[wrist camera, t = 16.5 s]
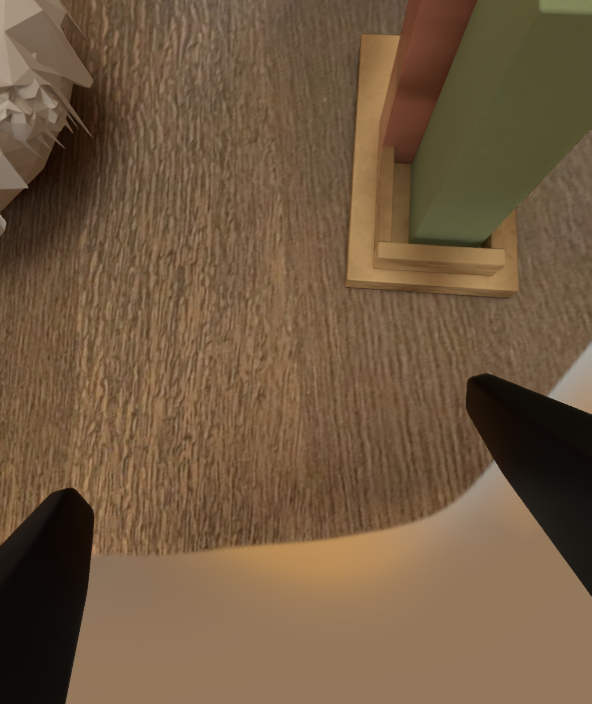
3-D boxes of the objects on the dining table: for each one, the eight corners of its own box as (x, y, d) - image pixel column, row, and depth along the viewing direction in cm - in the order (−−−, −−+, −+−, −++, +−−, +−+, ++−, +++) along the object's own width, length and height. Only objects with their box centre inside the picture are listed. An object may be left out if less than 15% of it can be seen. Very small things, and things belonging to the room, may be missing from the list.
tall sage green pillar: (475, 169, 23) (675, -138, 11) (476, 250, 22) (699, 15, 10) (410, 165, 24) (532, -141, 11) (408, 246, 23) (540, 10, 10)
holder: (500, 56, 27) (638, -206, 16) (508, 298, 23) (692, 179, 12) (359, 50, 27) (395, -209, 16) (344, 287, 23) (378, 162, 12)
